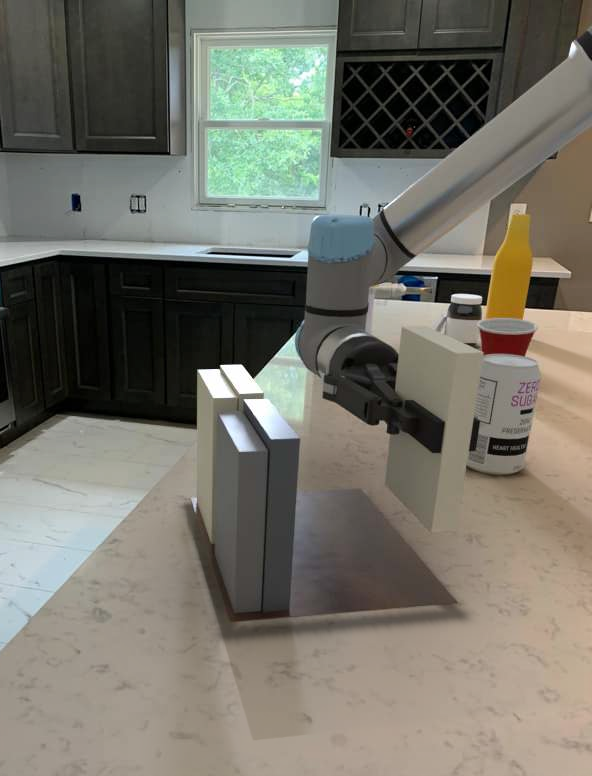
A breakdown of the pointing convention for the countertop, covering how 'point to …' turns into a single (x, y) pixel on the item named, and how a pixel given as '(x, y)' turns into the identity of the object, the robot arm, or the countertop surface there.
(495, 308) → the beer bottle
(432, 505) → the cream book
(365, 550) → the shelf board
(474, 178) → the robot arm
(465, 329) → the spread jar
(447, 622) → the countertop surface
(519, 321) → the plastic cup
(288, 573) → the grey books
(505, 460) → the supplement can
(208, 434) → the cream books
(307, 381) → the countertop surface
